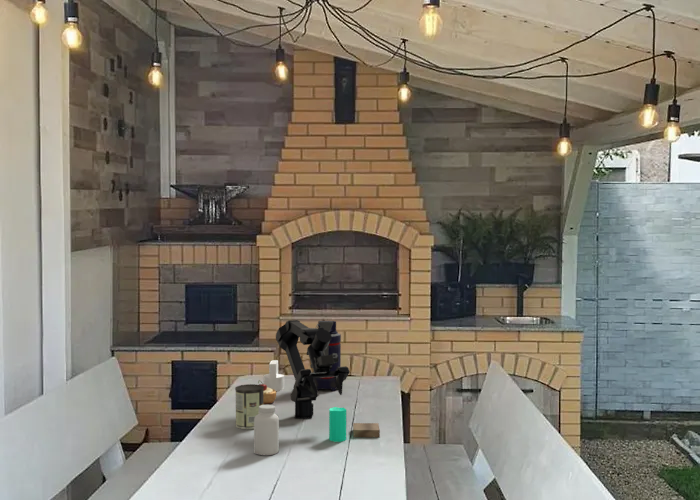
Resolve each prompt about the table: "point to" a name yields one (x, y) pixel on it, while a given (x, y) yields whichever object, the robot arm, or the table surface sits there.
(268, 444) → the pill bottle
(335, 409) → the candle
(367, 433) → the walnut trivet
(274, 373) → the base with upright slab
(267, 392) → the pastry
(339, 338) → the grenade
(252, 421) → the coffee can
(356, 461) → the table surface
